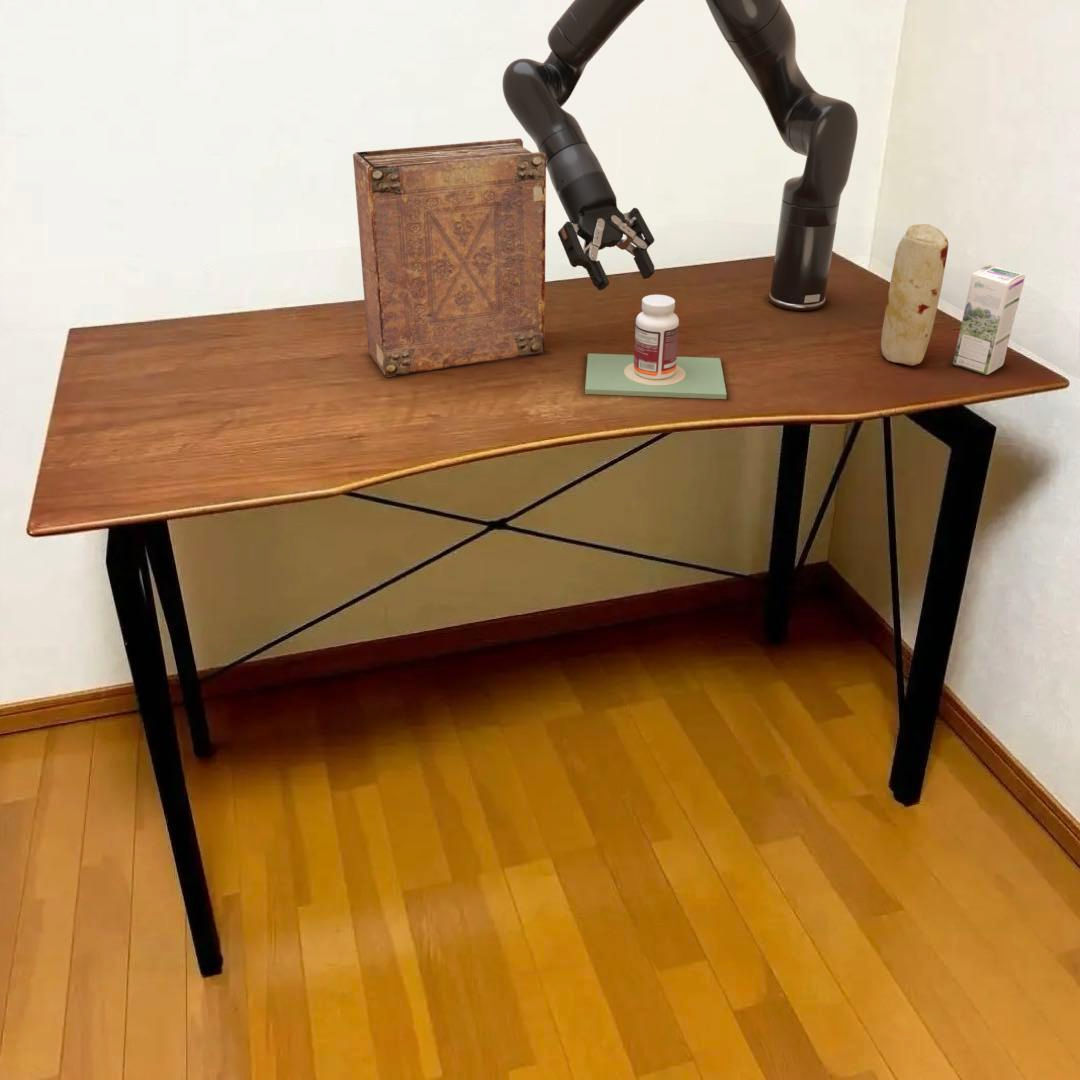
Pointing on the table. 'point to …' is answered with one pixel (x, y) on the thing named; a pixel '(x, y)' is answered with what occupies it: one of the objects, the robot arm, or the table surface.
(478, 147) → the book
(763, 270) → the table surface
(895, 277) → the food model
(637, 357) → the pill bottle
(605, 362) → the mat
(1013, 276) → the syrup box
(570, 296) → the table surface
